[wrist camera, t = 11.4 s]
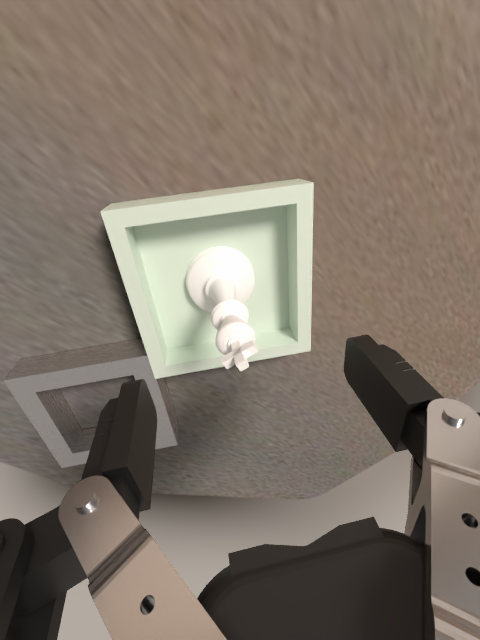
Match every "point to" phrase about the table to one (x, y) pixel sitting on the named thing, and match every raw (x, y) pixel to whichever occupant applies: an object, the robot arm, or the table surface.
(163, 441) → the collar block
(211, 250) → the chess piece
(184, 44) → the table surface
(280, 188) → the tray
